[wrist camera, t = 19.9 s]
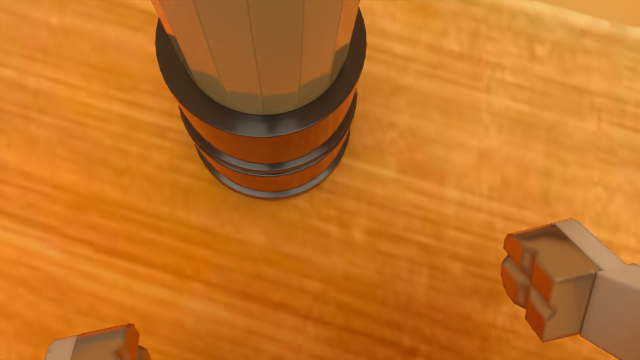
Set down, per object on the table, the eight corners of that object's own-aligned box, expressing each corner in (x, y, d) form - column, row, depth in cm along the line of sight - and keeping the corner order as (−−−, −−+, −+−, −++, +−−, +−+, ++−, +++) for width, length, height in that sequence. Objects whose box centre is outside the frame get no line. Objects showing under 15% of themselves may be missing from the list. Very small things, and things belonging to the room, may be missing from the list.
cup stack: (208, 215, 27) (161, 174, 17) (181, 68, 29) (125, -47, 19) (365, 182, 28) (405, 123, 18) (329, 41, 30) (348, -82, 20)
